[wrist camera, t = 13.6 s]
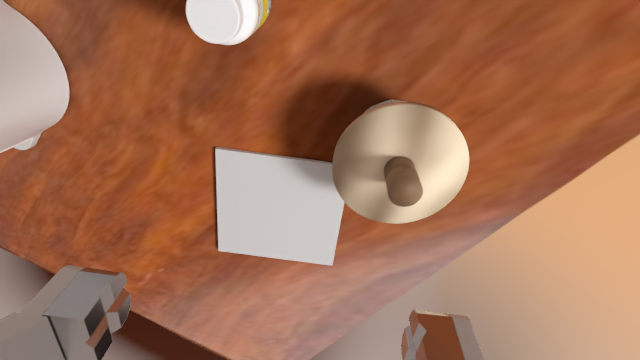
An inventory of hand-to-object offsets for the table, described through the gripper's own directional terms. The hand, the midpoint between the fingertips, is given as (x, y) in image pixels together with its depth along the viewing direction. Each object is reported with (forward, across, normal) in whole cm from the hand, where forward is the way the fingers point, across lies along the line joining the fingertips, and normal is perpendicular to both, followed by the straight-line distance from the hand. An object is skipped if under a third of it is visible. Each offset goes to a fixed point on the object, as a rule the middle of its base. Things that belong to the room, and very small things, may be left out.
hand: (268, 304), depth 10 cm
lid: (+25, -9, +8) cm, 28 cm away
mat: (+31, +3, +20) cm, 37 cm away
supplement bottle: (+31, +8, -4) cm, 33 cm away
